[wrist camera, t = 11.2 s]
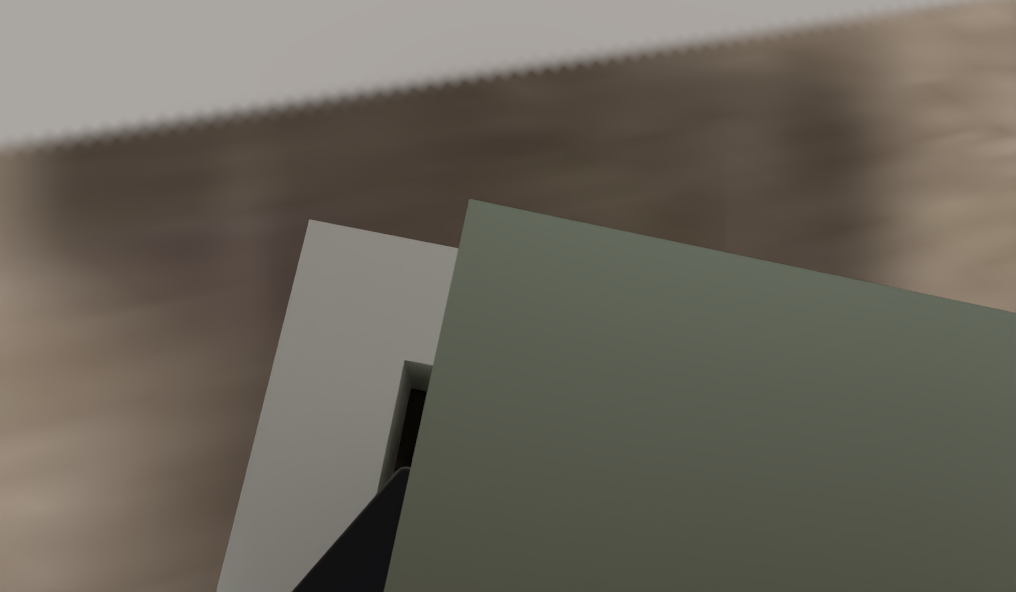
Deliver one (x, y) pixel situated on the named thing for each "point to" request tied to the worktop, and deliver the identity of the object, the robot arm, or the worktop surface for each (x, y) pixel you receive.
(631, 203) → the worktop surface
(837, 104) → the worktop surface
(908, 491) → the slat
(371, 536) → the robot arm
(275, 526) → the white rectangular frame
